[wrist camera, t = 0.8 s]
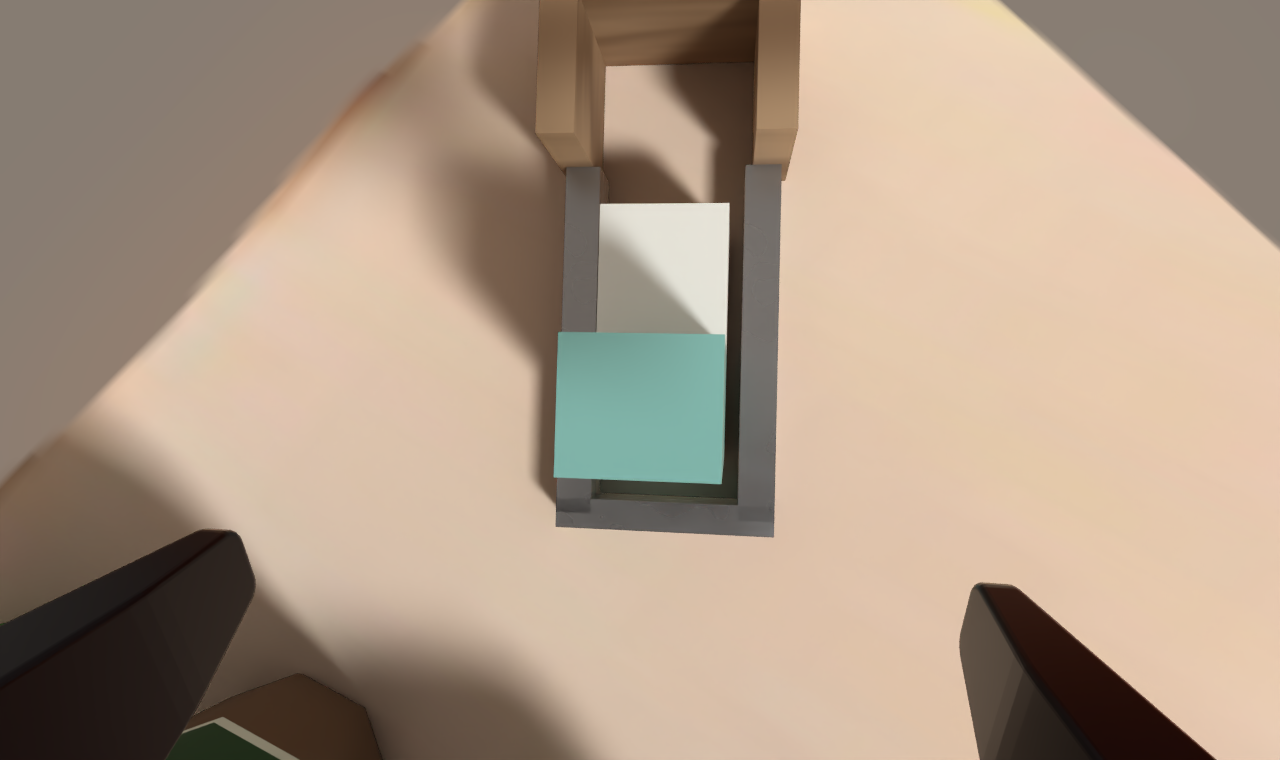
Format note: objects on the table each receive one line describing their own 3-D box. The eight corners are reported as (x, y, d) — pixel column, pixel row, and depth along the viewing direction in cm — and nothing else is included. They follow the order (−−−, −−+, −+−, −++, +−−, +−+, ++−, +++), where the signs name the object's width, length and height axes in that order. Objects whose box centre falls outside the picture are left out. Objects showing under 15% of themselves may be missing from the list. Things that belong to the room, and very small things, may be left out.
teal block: (724, 456, 26) (721, 483, 17) (613, 452, 26) (553, 477, 17) (729, 233, 26) (729, 144, 17) (619, 234, 27) (563, 147, 18)
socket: (785, 180, 26) (798, 128, 21) (570, 182, 27) (535, 133, 22) (788, 27, 26) (802, -60, 21) (575, 35, 27) (541, -47, 22)
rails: (770, 528, 26) (773, 537, 24) (567, 518, 27) (555, 526, 25) (777, 180, 26) (781, 164, 24) (577, 182, 27) (566, 167, 25)
